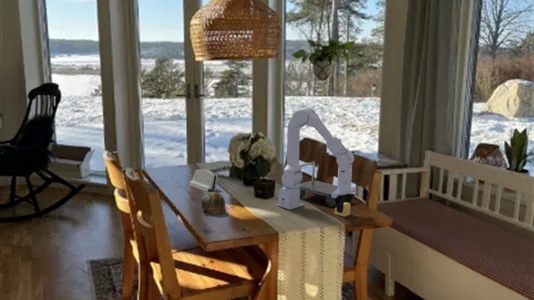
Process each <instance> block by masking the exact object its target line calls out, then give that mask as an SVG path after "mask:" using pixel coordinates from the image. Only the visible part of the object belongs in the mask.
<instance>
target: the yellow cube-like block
mask: <svg viewBox="0 0 534 300" xmlns="http://www.w3.org/2000/svg"><path fill="white" fill-rule="evenodd" d="M334 215H336V216H341V217H343V218H344V217H345V218H346V217H347V216H350V215H351V204H350V203H347V202H344V205H343V211H342V213H339V212H337V208H336V207H335V208H334Z"/></svg>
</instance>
